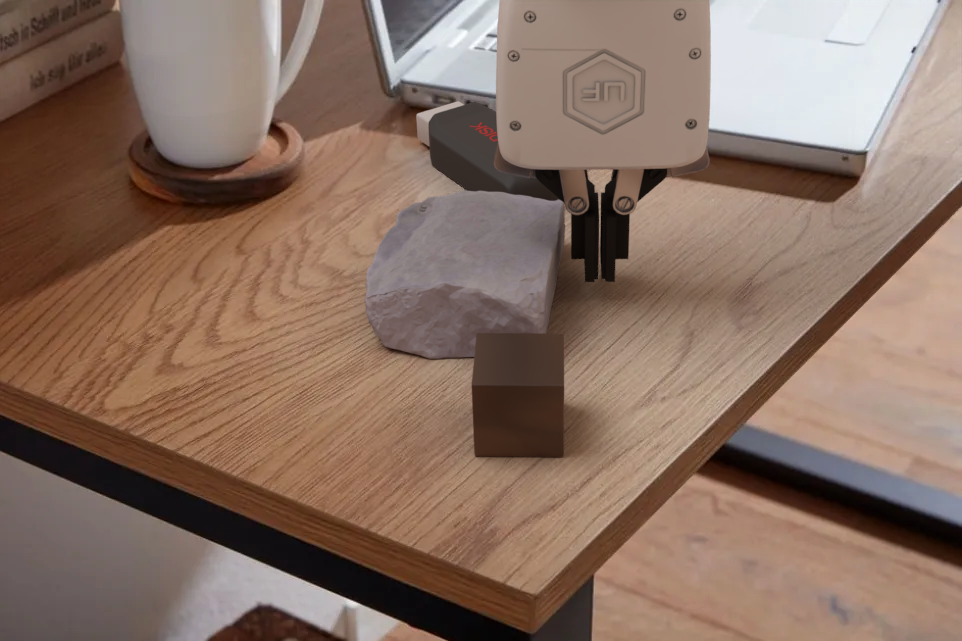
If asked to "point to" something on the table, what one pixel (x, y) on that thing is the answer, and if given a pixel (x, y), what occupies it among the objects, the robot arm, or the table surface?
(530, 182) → the usb drive
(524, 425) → the walnut block
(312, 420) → the table surface
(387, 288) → the stone block
